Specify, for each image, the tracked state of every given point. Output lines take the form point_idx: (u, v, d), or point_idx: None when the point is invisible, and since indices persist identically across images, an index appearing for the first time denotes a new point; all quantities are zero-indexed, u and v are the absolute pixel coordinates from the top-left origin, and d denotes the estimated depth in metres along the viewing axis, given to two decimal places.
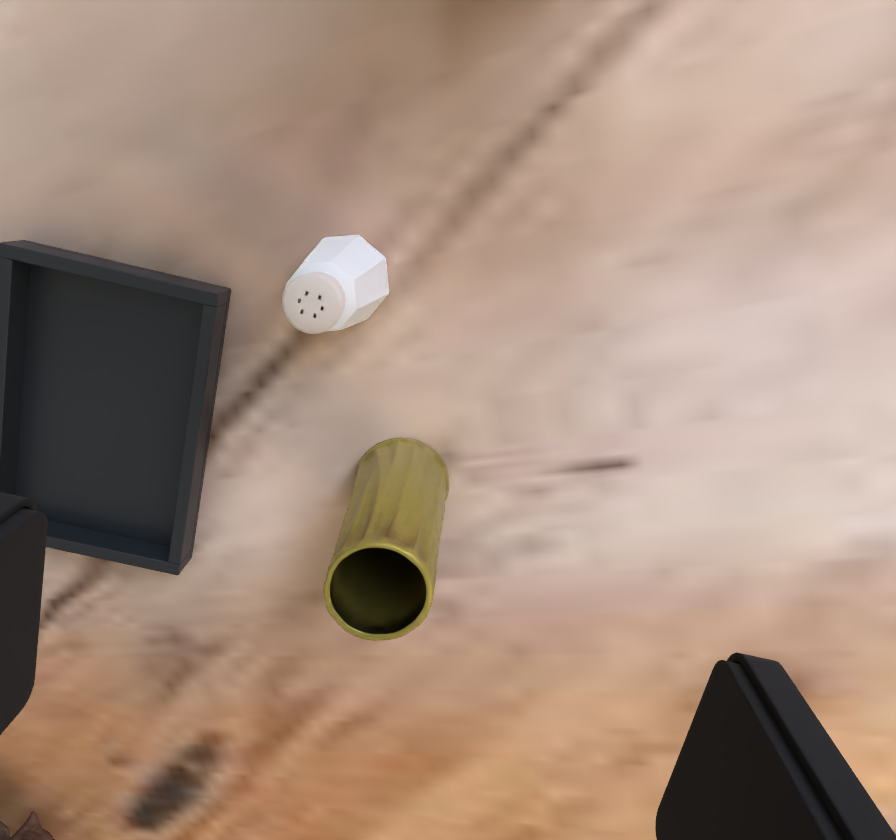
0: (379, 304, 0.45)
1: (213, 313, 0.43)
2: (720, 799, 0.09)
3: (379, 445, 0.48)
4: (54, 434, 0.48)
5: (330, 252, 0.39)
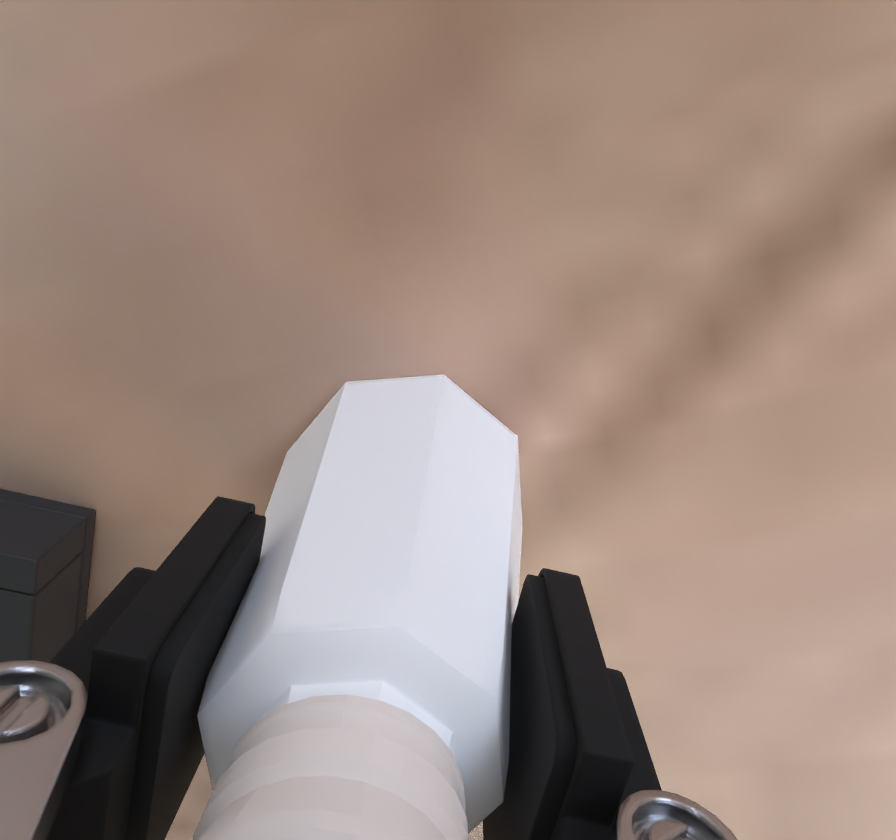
0: None
1: (27, 610, 0.15)
2: (512, 692, 0.10)
3: None
4: None
5: (382, 513, 0.10)
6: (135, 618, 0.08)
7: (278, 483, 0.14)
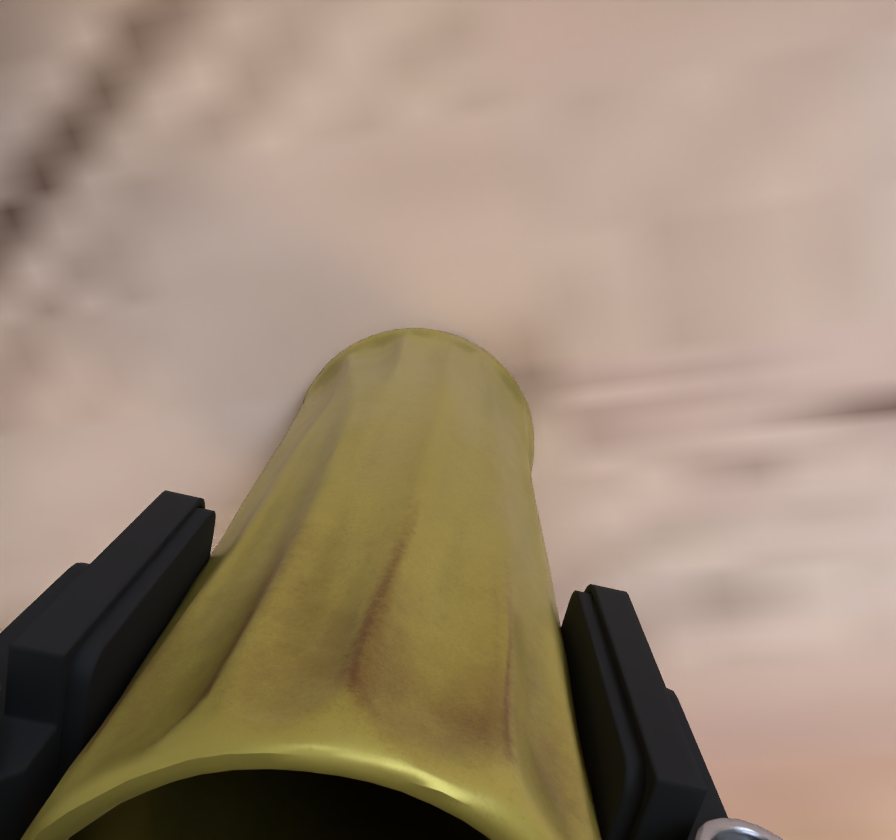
0: None
1: None
2: None
3: (357, 346, 0.18)
4: None
5: None
6: (59, 613, 0.07)
7: None
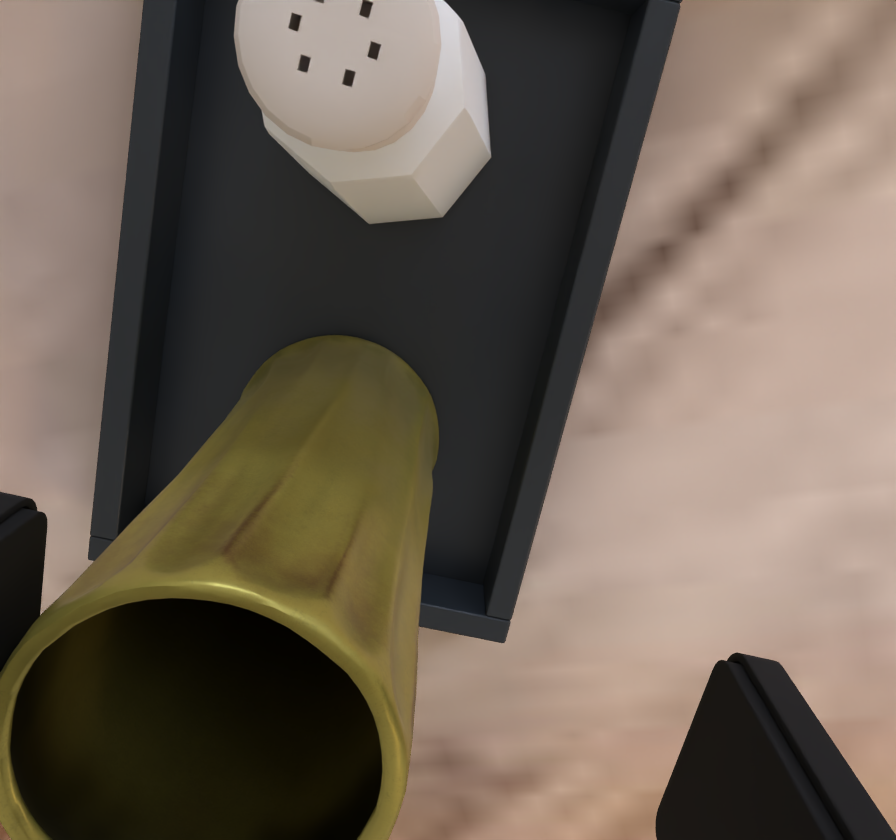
0: (469, 182, 0.21)
1: (671, 20, 0.18)
2: (720, 799, 0.09)
3: (284, 351, 0.22)
4: (240, 343, 0.22)
5: None
6: None
7: None
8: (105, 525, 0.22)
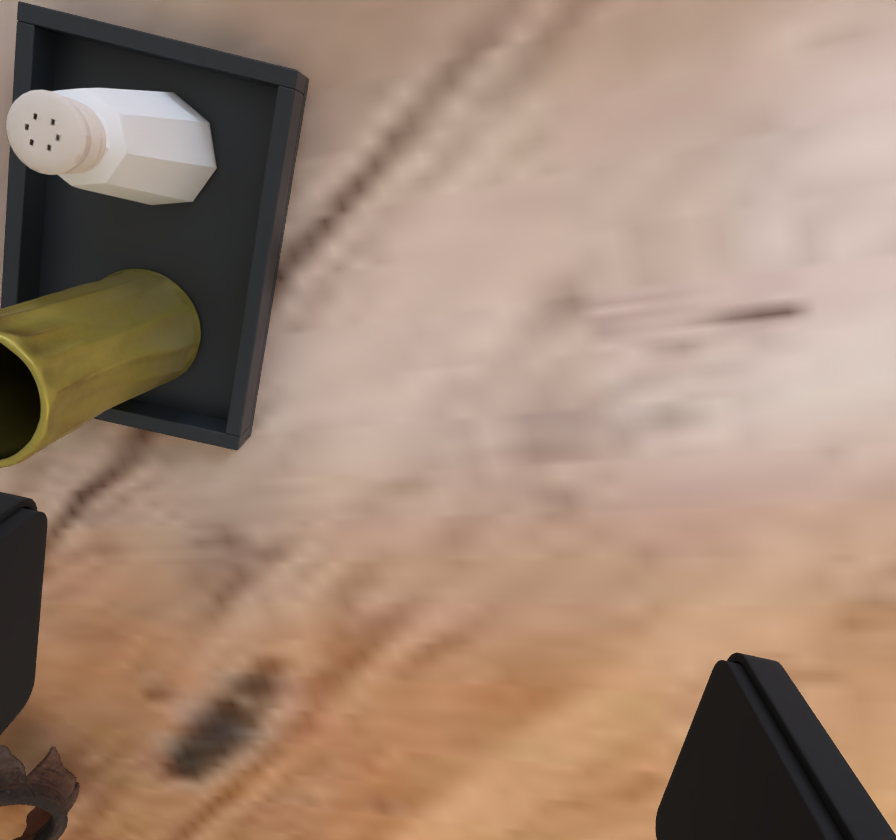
0: (204, 182, 0.37)
1: (290, 97, 0.34)
2: (720, 799, 0.09)
3: (107, 277, 0.38)
4: (84, 273, 0.38)
5: None
6: None
7: None
8: None
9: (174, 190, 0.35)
